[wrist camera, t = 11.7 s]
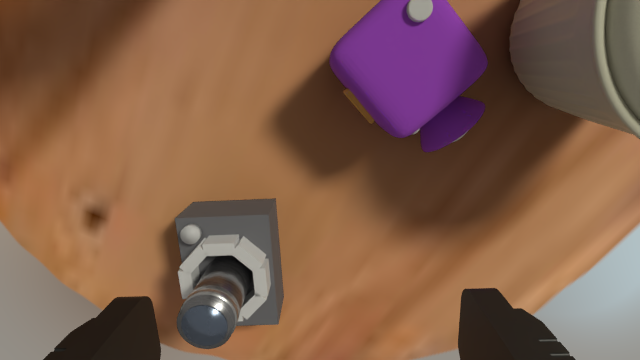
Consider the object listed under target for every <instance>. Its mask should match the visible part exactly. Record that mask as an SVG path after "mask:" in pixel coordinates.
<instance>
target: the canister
mask: <svg viewBox="0 0 640 360" xmlns="http://www.w3.org/2000/svg"><path fill="white" fill-rule="evenodd" d="M509 40H510V48H509V51H510V54H511V62H512V64H513V66H514V72H515V73H516V74H517V76H518V78H519V81H520V82H521V83H522V84H523V85H524V86H525V89H526V90H527V91H528V92H530V93H532V94H533V96H534V97H535V98H536V99H538V100H540V101H542V102H544V103H545V104H546V105H548V106H550V107H553V108H555V109H558V110H561V111H563V112H566V113H569V114H572V115H574V116H577V117H580V118H583V119H586V120H589V121H592V122H595V123H598V124H601V125H604V126H608V127H611V128H614V129H617V130H621V131H624V132H627V133H630V134H633V135H635V136H636V137H637V138H639V139H640V0H520V3H519V7H518V9H517V11H516V12H515V14H514V20H513V23H512V25H511V34H510V37H509Z"/></svg>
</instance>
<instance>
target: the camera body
mask: <svg viewBox="0 0 640 360" xmlns="http://www.w3.org/2000/svg"><path fill="white" fill-rule="evenodd" d="M175 222H176V228H177V235H178V241H179V248H180V254H181V260H182V264H181V266H180V267H179V268H180V269H179V271H178V276H179V282H180V288H181V294H182V299H187V297H188V296H189V294H190V293H191V292H192V291H193V290H194V288H195V287H196V285H197V284H198V282H199V280H200V279H201V277H202V276H203V274H204V272H205V271H206V269H207V268H208V266H209V264H210V263H211V261H212V260H213V259H214V258H215V257H217V256H226V255H233V256H234V257H235V258H237V259H238V260H239V261H240V262H242V263H243V264H244V265H245V266H247V267H248V268H249V269H250V270H252V280H251V283H250V285H249V288H248V291H247V294H246V296H245V299H244V302H243V304H242V307H241V310H240V315H239V319H238V321H237V324H236V326H241V325H273V324H279V318H280V313H281V308H282V303H283V298H284V294H283V282H282V270H281V257H280V245H279V233H278V221H277V209H276V199H254V200H230V201H205V202H193V203H192V204H190V205H189V206H188V207H187V208H186V209H185V210H184V211H183V212H181V213H180V214H179V215H178V216H177V217H176V218H175Z"/></svg>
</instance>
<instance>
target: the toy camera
mask: <svg viewBox="0 0 640 360" xmlns="http://www.w3.org/2000/svg"><path fill="white" fill-rule="evenodd" d="M329 62H330V67H331V69H332V71H333V72H334V74H335V75H336V77H337V78H338V79H339V80H340V81H341V83H342V84H343V85H344V86H345V87H346V89H345V90H344V91H343V93H344V94H345V95H346V97H347V98H348V99H349V100H350V101H351V102H352V103H353V105H354V106H355V107H356V108H357V109H358V110H359V112H360V113H361V114H362V115H363V116H364V117H365V118H366V120H367V121H368V122H369V123H370V124H372V123H373V122H374V121H375V122H376V123H377V124H378V125H379V126H380V127H381V128H383V129H384V130H385V131H386V132H388V133H389V134H391V135H392V136H394V137H397V138H404V137H407V136H409V135H411V134H412V135H414V134H416V133H417V132H418V131H419V130H420V137H421V147H422V150H423V151H424V152H431V151H435V150H438V149H440V148H443V147H445V146H447V145H448V144H450V143H453V142H455V141H457V140H459V139H460V138H462V137H463V136H464V135H465V134H466V133H467V132H468V130H469V129H471V128H472V127H473V126H474V125H475V124H476V122H477V121H478V120H479V119H480V118H481V116H482V114H483V112H484V110H485V104H484V103H483V102H480V101H478V100H474V99H470V98H466V97H461V96H459V95H460V94H462V93H463V92H464V91H465V90H466V89H467V88H469V87H470V86H471V85H472V84H473V83H474V82H475V81H476V80H477V79H478V78H479V77H480V76H481V75H482V74H483V73H484V71H485V70H486V68H487V65H488V61H487V57H486V54H485V53H484V51H483V49H482V48H481V46H480V45H479V43H478V42H477V40H476V39H475V38H474V36H473V35H472V34H471V32H470V31H469V30H468V28H467V27H466V26H465V24H464V23H463V22H462V20H461V19H460V18H459V16H458V15H457V14H456V12H455V11H454V10H453V8H452V7H451V6H450V4H449V3H448V2H447V0H381V1H380V2H379V3H378V4H376V5H375V6H374V7H373V8H372V9H371V10H370V11H369V12H368V13H367V14H366V15H365V16H364V17H363V18H362V19H361V20H360V21H358V22H357V23H356V24H355V25H354V26H353V27H352V28H351V29H350V30H349V31H348V32H347V33H346V34H345V35H344V36H343V37H342V38H341V39H340V40H339V41H338V42H337V43H336V45H335V46H334V48H333V49H332V51H331V54H330V60H329Z"/></svg>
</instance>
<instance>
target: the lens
mask: <svg viewBox="0 0 640 360" xmlns="http://www.w3.org/2000/svg"><path fill="white" fill-rule="evenodd" d="M251 280H252V270H250V269H249V268H248V267H247V266H245V265H244V264H243V263H242V262H240V261H239V260H238V259H237V258H235V257H234V256H233V255H226V256H217V257H215V258H214V259H213V260H212V261H211V263H210V264H209V266H208V268H207V269H206V271H205V272H204V274H203V276H202V277H201V279H200V280H199V282H198V284H197V285H196V287H195V288H194V290H193V291H192V292H191V293H190V294H189V296H188V297H187V299H186V300H185V302H184V303H183V305H182V307H181V309H180V312H179V314H178V317H177V328H178V331H179V333H180V335H181V336H182V338H183V339H184V340H185V341H187V342H188V343H189V344H191V345H193V346H195V347H198V348H203V349H212V348H216V347H219V346H221V345H223V344H224V343H225V342H227V341H228V339H229V338H230V336H231V334H232V333H233V331H234V329H235V327H236V324H237V321H238V319H239V315H240V310H241V307H242V304H243V302H244V299H245V296H246V294H247V291H248V288H249V285H250V283H251Z"/></svg>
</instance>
